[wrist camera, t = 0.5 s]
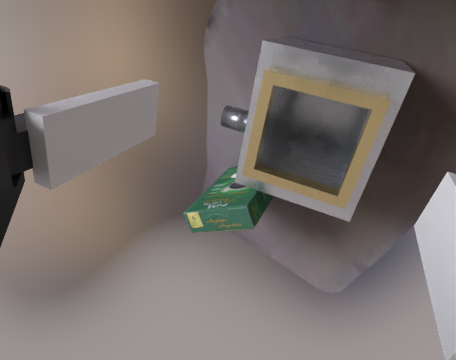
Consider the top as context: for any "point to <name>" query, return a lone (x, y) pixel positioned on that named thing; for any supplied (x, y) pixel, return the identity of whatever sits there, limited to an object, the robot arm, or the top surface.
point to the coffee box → (227, 206)
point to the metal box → (317, 122)
